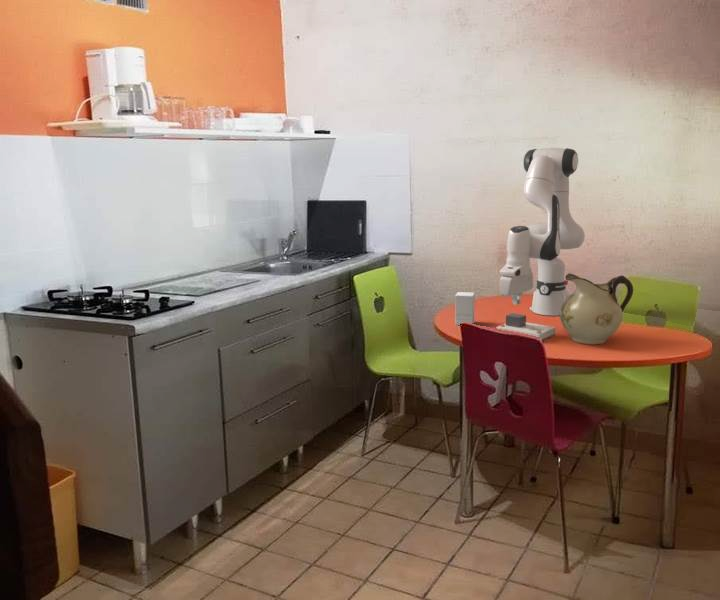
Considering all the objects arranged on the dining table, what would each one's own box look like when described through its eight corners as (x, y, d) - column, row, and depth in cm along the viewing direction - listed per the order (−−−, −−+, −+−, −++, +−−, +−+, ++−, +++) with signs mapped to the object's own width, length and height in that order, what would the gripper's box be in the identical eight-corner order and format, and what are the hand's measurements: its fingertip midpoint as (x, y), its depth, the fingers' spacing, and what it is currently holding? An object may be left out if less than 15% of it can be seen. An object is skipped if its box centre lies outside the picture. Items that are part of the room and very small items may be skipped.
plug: (511, 327, 281) (512, 313, 280) (525, 330, 278) (526, 315, 276) (505, 330, 278) (506, 315, 276) (519, 332, 274) (519, 317, 273)
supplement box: (474, 321, 296) (475, 292, 293) (472, 326, 289) (473, 295, 286) (456, 320, 297) (457, 291, 295) (454, 325, 290) (455, 295, 288)
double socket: (513, 327, 286) (514, 319, 285) (555, 334, 274) (555, 326, 274) (496, 334, 276) (496, 325, 275) (538, 342, 264) (538, 333, 263)
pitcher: (547, 340, 266) (551, 275, 261) (575, 328, 283) (580, 267, 278) (604, 352, 251) (610, 283, 246) (631, 339, 268) (637, 274, 263)
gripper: (523, 264, 282) (522, 298, 285) (497, 271, 267) (495, 307, 270) (538, 266, 278) (536, 300, 281) (512, 273, 263) (510, 309, 266)
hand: (516, 303), depth 275 cm, fingers closed
